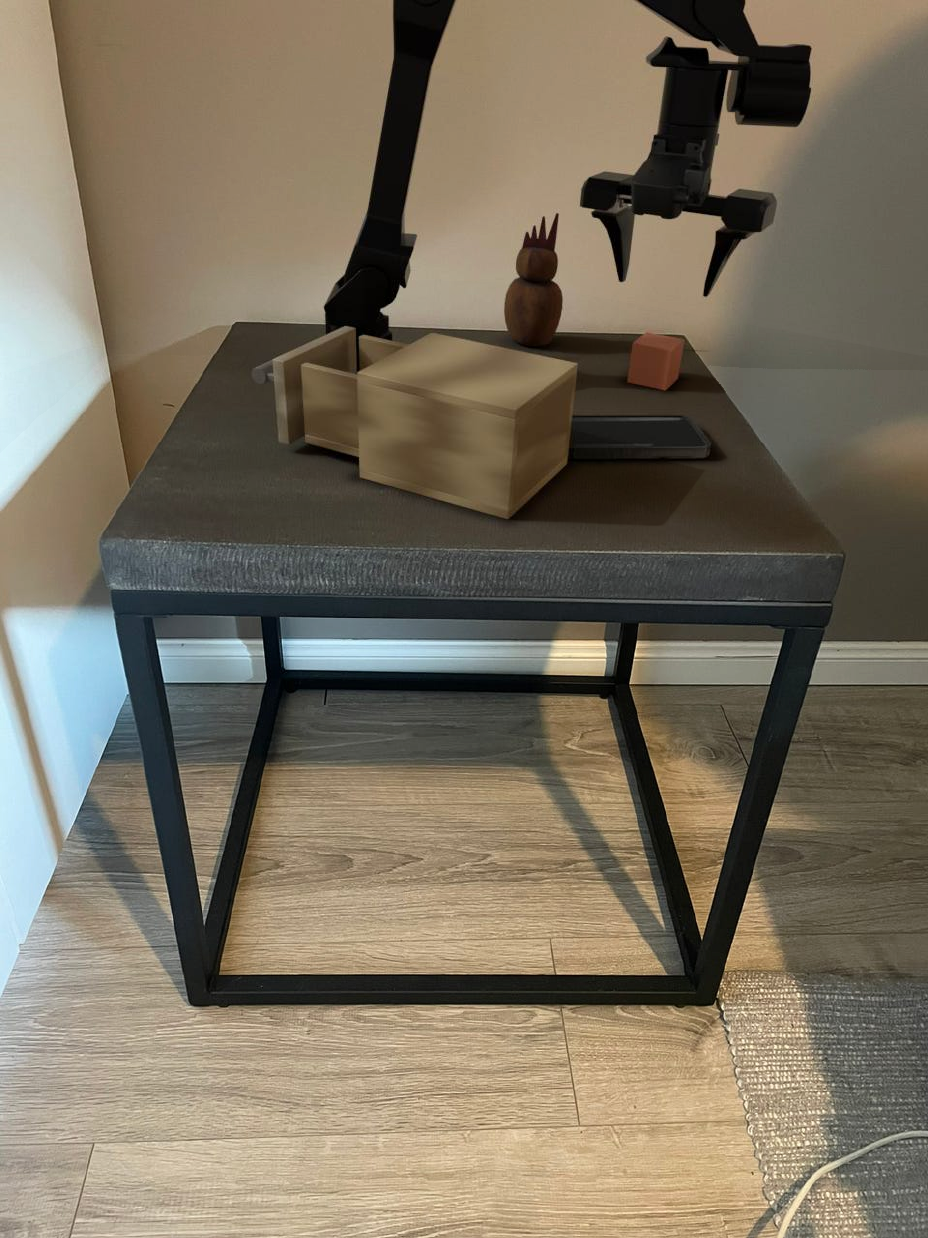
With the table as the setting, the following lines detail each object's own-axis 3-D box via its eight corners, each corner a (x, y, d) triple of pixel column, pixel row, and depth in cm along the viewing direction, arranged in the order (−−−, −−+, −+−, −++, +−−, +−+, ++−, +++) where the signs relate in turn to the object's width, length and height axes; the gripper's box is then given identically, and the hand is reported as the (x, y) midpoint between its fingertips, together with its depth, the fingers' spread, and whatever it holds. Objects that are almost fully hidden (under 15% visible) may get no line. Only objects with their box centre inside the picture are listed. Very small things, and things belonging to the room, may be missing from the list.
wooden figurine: (565, 342, 117) (579, 212, 108) (543, 354, 113) (555, 220, 104) (518, 330, 120) (527, 203, 111) (494, 342, 115) (502, 211, 107)
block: (627, 382, 106) (632, 342, 104) (640, 370, 109) (646, 331, 107) (665, 390, 104) (672, 350, 102) (678, 378, 108) (684, 339, 105)
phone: (543, 415, 94) (689, 414, 96) (542, 425, 95) (688, 425, 96) (558, 448, 88) (714, 447, 89) (556, 459, 88) (712, 458, 90)
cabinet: (359, 477, 84) (356, 372, 78) (429, 429, 93) (431, 332, 88) (508, 519, 78) (516, 409, 73) (566, 464, 88) (578, 363, 82)
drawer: (241, 431, 89) (233, 349, 84) (312, 393, 97) (308, 317, 93) (404, 477, 82) (405, 391, 78) (466, 432, 91) (469, 352, 86)
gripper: (566, 120, 89) (551, 291, 97) (766, 142, 82) (730, 324, 90) (609, 110, 97) (591, 268, 106) (793, 129, 90) (758, 296, 99)
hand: (663, 288), depth 100 cm, fingers open, 9 cm apart
